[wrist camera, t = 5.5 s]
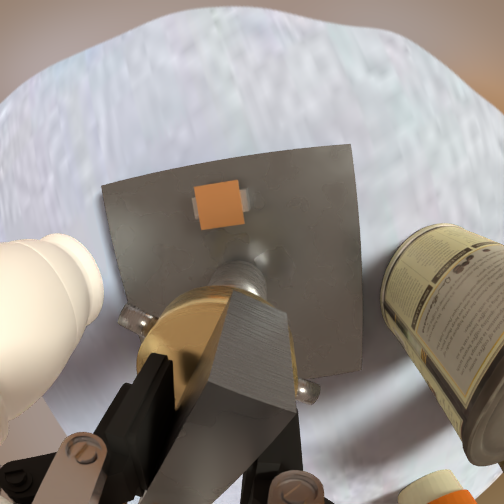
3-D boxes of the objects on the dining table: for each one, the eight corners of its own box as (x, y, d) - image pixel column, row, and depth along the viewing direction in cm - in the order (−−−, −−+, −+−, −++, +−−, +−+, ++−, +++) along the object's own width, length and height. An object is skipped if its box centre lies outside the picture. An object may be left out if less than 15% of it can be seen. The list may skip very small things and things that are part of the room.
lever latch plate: (355, 355, 23) (387, 436, 14) (164, 373, 24) (128, 449, 16) (343, 146, 19) (396, 132, 10) (114, 183, 20) (33, 198, 12)
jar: (81, 354, 25) (-9, 462, 10) (12, 276, 23) (-99, 344, 9) (140, 286, 22) (17, 420, 8) (56, 193, 21) (-102, 236, 6)
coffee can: (499, 250, 20) (617, 316, 7) (445, 353, 23) (524, 460, 9) (414, 198, 20) (569, 249, 6) (355, 323, 22) (423, 472, 9)
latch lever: (358, 318, 12) (422, 446, 5) (274, 432, 14) (273, 549, 7) (157, 226, 11) (40, 298, 5) (113, 366, 13) (44, 468, 7)
